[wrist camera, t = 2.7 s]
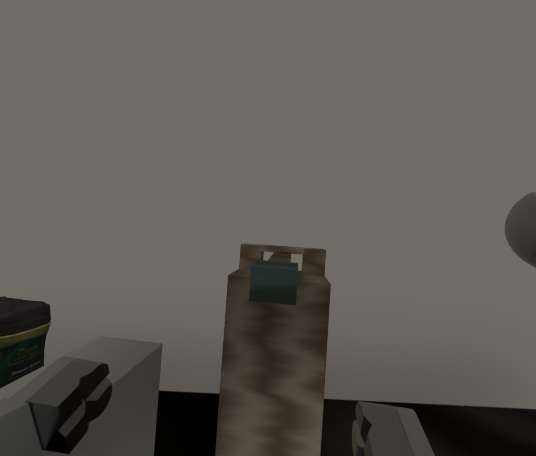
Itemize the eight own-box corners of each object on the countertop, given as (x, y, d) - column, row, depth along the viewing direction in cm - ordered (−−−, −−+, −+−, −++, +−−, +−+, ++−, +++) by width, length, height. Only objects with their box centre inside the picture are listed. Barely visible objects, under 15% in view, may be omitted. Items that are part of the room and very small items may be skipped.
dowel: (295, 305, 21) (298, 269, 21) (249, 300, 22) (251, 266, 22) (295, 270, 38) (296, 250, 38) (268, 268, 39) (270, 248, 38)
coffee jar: (53, 419, 38) (64, 296, 39) (-13, 466, 30) (1, 311, 31) (3, 407, 40) (14, 289, 40) (-72, 448, 32) (-58, 302, 33)
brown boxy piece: (311, 442, 37) (323, 249, 38) (316, 508, 28) (332, 253, 29) (231, 430, 38) (244, 243, 39) (212, 490, 29) (230, 245, 30)
